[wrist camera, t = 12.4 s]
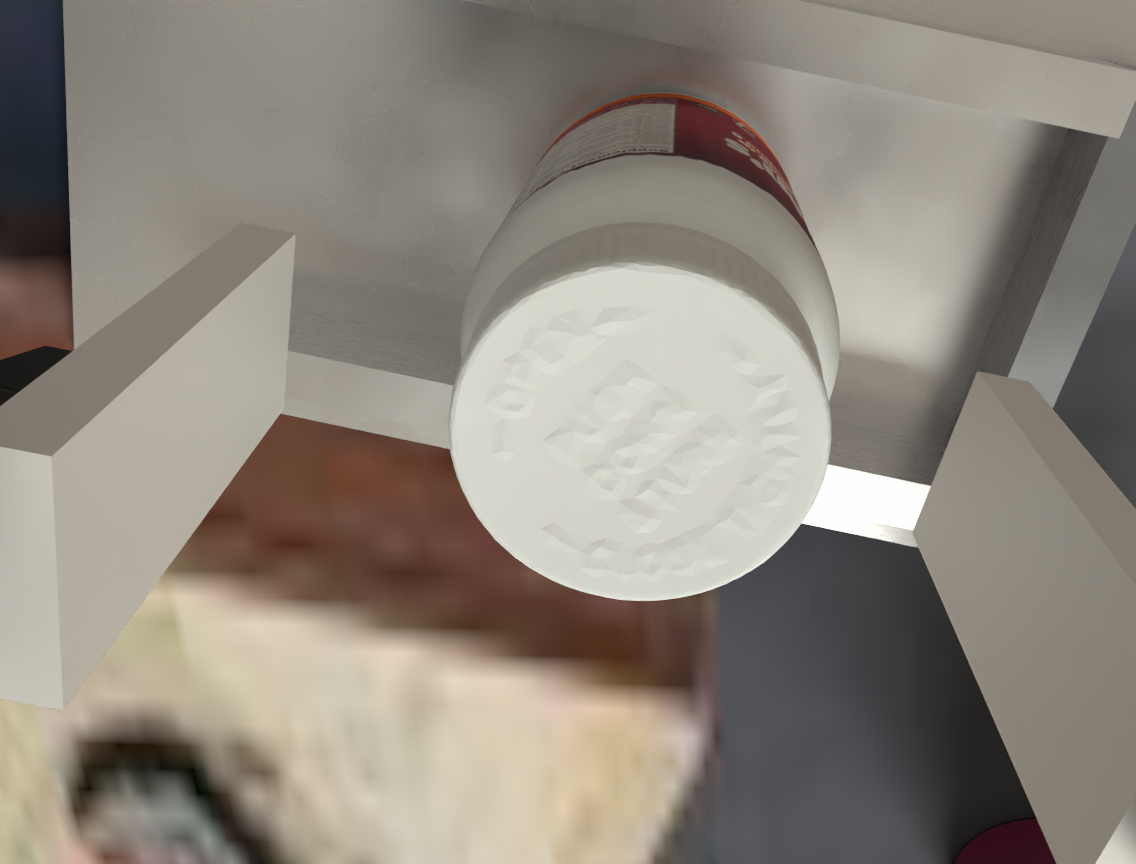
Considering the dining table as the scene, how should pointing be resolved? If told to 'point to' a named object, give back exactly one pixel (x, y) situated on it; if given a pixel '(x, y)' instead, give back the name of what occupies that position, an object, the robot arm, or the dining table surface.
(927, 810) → the dining table surface
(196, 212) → the white shallow tray
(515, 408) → the pill bottle
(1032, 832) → the cup
